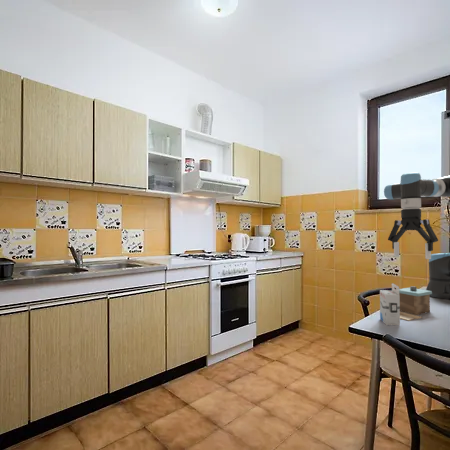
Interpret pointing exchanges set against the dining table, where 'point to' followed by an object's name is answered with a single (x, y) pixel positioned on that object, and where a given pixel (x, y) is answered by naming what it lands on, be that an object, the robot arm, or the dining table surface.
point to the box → (414, 304)
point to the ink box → (390, 306)
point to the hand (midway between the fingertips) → (411, 257)
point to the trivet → (408, 316)
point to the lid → (414, 291)
